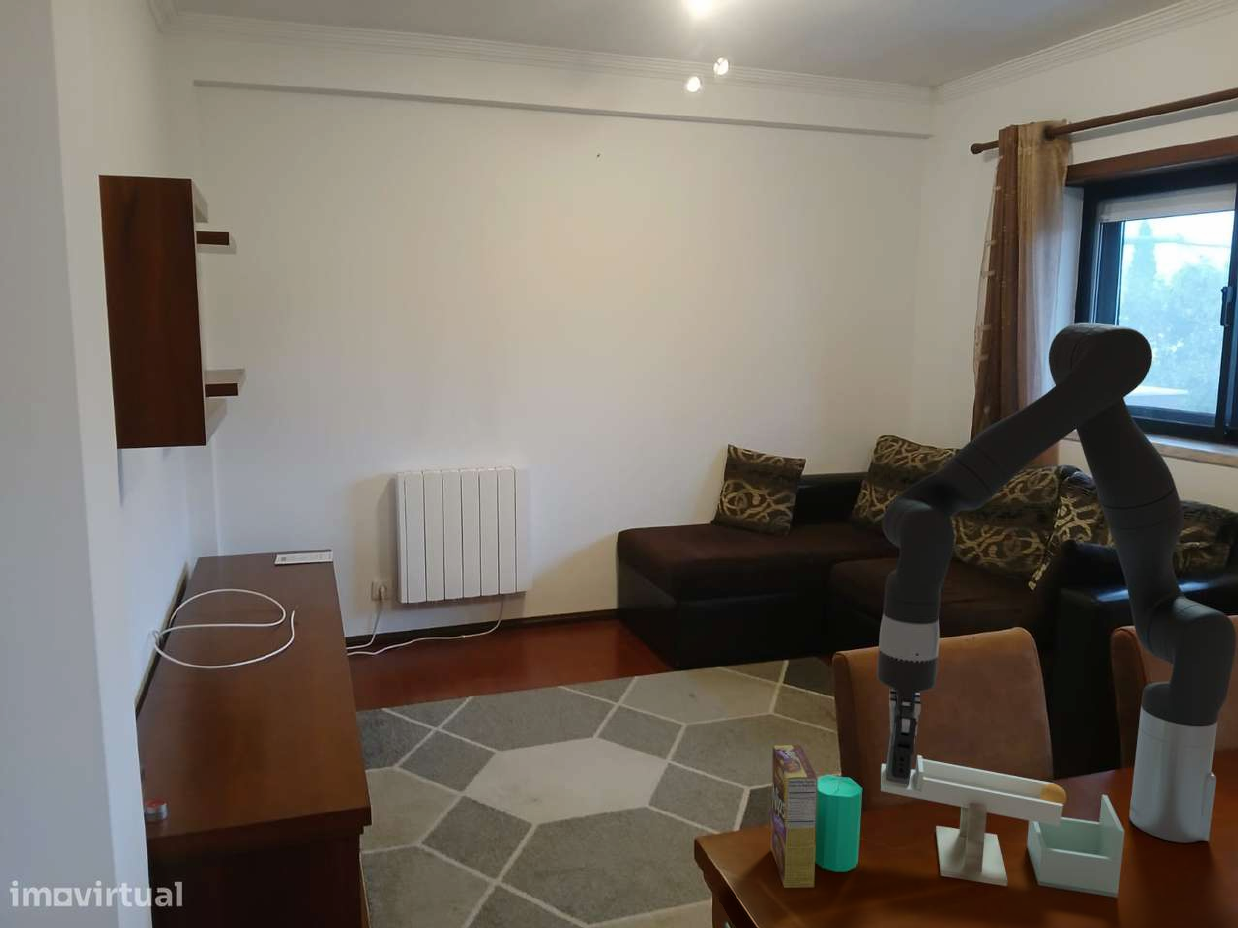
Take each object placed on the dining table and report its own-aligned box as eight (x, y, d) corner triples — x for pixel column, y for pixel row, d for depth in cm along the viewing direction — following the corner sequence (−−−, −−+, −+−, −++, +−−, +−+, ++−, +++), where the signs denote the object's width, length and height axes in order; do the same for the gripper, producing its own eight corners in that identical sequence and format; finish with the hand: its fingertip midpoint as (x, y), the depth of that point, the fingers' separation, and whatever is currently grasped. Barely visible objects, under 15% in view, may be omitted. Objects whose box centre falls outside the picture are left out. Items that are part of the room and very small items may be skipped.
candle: (858, 874, 120) (864, 788, 118) (811, 868, 122) (816, 783, 120) (856, 848, 126) (861, 766, 124) (811, 843, 127) (816, 761, 125)
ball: (1045, 775, 122) (1034, 793, 122) (1049, 786, 119) (1038, 805, 120) (1068, 786, 121) (1056, 804, 122) (1072, 797, 118) (1061, 816, 119)
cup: (1100, 857, 125) (1107, 795, 123) (1117, 897, 116) (1124, 831, 115) (1027, 845, 127) (1032, 785, 126) (1038, 884, 119) (1044, 819, 117)
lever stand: (996, 839, 129) (1001, 775, 127) (1007, 886, 118) (1013, 816, 117) (935, 830, 131) (940, 767, 129) (941, 875, 120) (946, 806, 119)
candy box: (767, 849, 126) (771, 743, 123) (798, 848, 126) (803, 743, 124) (781, 889, 117) (786, 776, 115) (814, 888, 117) (820, 776, 115)
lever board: (1049, 806, 124) (1058, 752, 123) (1059, 832, 118) (1068, 777, 116) (880, 773, 130) (887, 721, 128) (880, 797, 123) (887, 743, 122)
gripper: (941, 671, 115) (931, 799, 118) (935, 634, 128) (926, 750, 131) (879, 663, 117) (870, 790, 120) (879, 628, 130) (871, 742, 133)
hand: (899, 768), depth 125 cm, fingers closed on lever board, 3 cm apart
